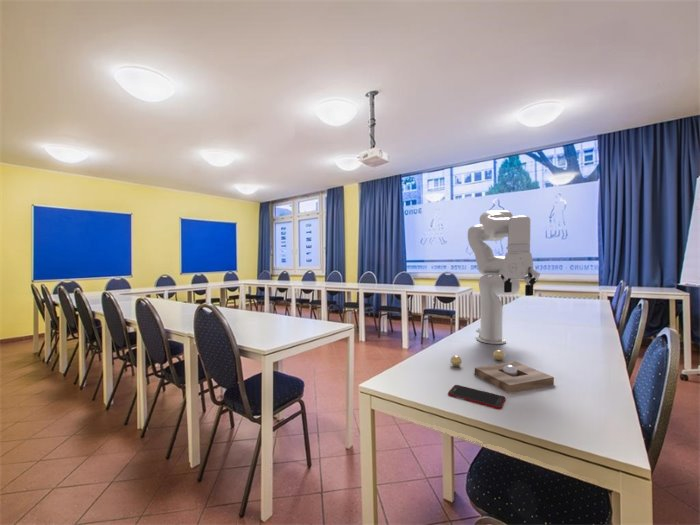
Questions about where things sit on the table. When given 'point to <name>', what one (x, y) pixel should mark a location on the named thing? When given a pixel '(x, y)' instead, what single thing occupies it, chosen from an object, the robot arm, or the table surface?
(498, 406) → the cell phone
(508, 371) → the steel ball
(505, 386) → the pocket plate
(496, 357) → the brass ball
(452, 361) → the brass ball
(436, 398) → the table surface
